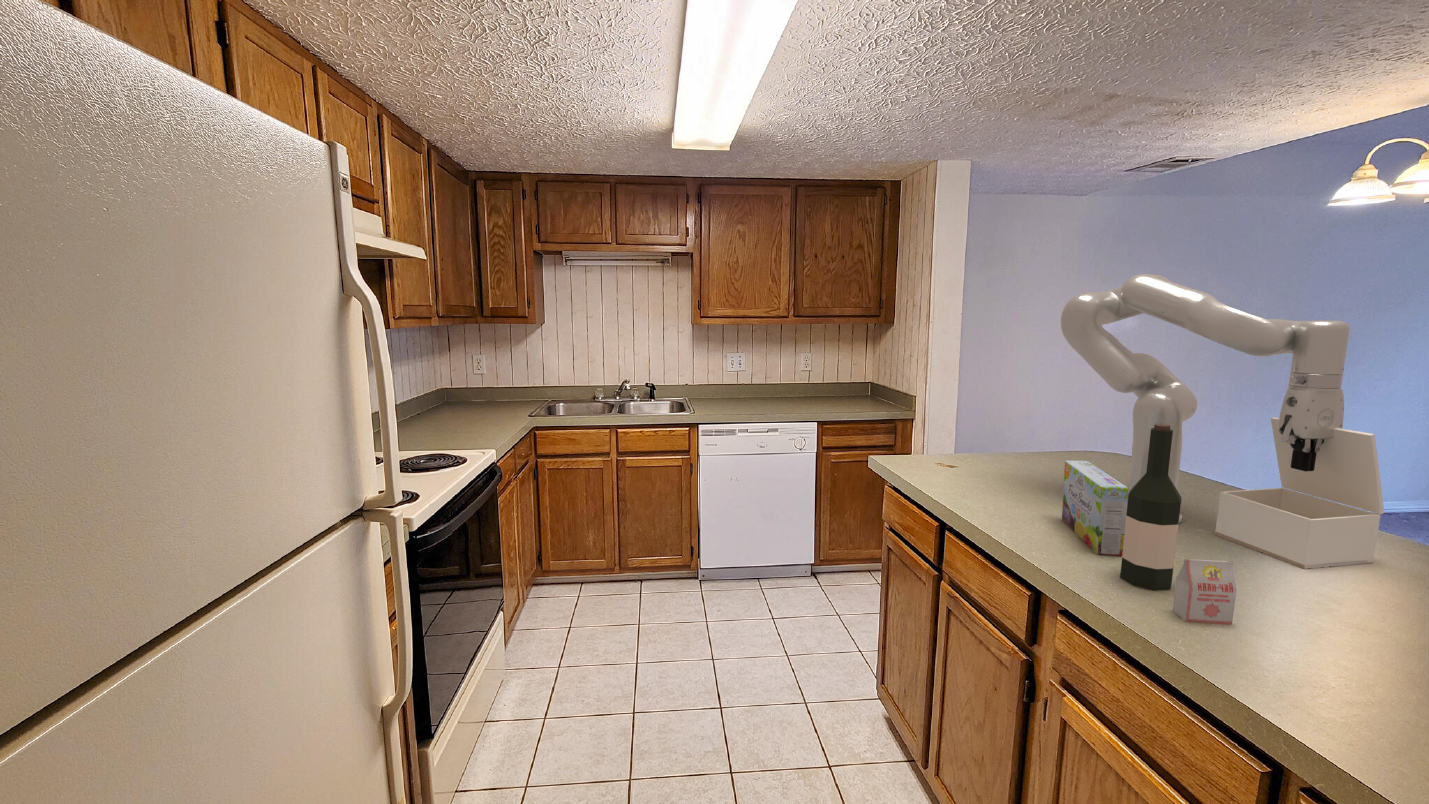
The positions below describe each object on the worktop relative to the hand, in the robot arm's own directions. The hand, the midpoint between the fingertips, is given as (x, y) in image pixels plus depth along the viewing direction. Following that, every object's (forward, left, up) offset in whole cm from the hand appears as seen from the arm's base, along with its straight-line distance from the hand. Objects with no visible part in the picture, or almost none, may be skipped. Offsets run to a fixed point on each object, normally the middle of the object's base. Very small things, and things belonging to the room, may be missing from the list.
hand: (1302, 469), depth 123 cm
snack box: (-36, +13, -18) cm, 42 cm away
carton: (0, 0, -17) cm, 17 cm away
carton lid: (+5, 0, +1) cm, 5 cm away
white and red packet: (-44, -21, -18) cm, 52 cm away
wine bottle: (-42, -8, -17) cm, 46 cm away
